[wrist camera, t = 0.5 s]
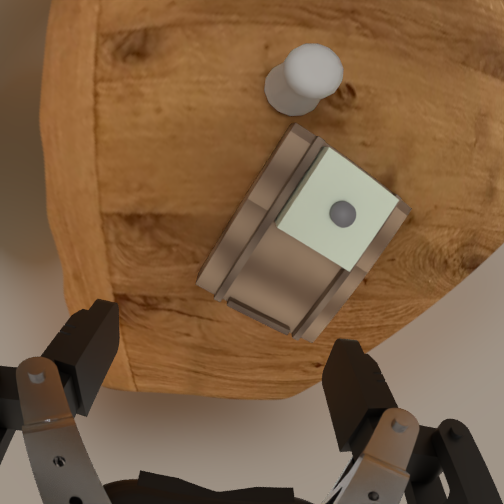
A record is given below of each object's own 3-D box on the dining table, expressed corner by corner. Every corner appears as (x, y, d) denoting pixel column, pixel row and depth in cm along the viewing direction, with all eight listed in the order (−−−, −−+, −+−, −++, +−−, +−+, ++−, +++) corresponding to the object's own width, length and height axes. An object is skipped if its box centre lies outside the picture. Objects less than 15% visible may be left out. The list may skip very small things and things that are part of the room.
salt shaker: (298, 58, 30) (329, 19, 17) (326, 101, 31) (372, 85, 19) (252, 82, 31) (258, 52, 18) (281, 126, 32) (303, 121, 20)
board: (291, 123, 32) (297, 122, 29) (400, 202, 36) (416, 210, 32) (198, 273, 38) (194, 288, 34) (308, 329, 41) (313, 347, 37)
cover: (322, 146, 30) (332, 147, 27) (388, 195, 32) (403, 202, 29) (274, 220, 33) (278, 230, 29) (342, 262, 35) (352, 275, 31)
